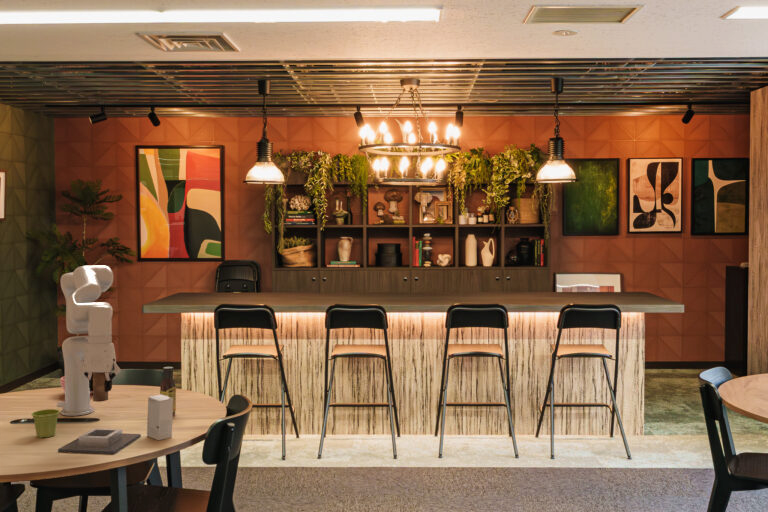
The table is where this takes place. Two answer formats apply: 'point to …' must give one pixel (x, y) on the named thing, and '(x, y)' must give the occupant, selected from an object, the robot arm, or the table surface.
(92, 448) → the socket
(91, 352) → the robot arm
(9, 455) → the table surface
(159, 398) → the skincare box
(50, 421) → the plant pot
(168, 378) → the sauce bottle
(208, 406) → the table surface
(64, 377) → the cell model
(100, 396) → the peg
